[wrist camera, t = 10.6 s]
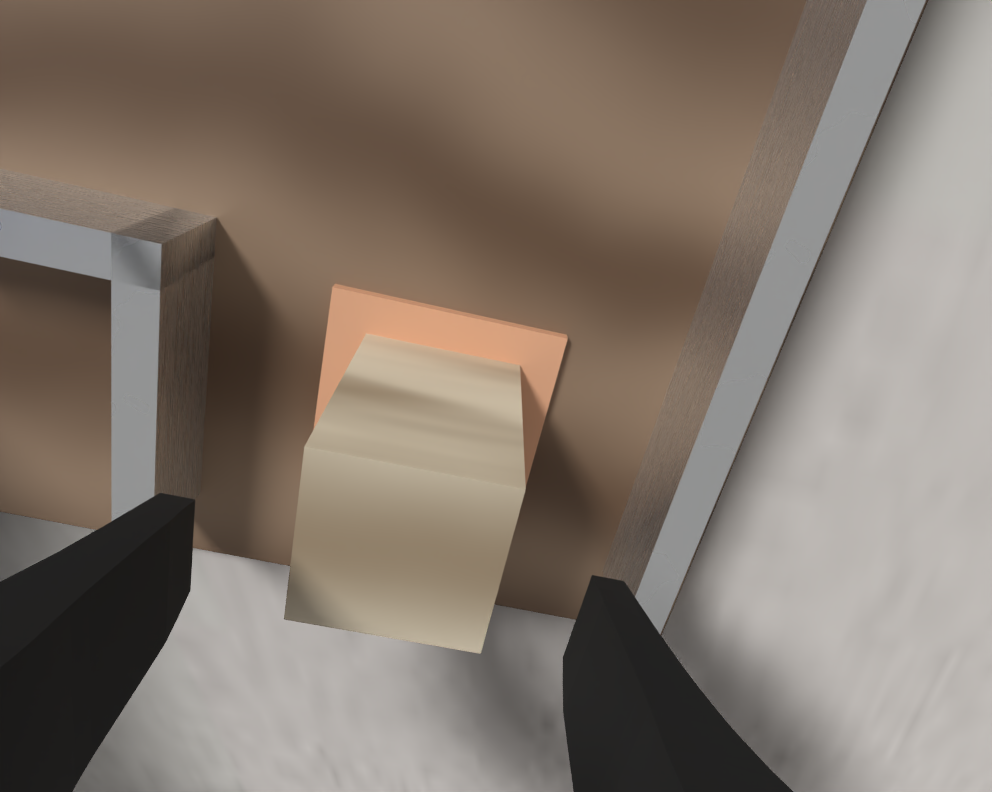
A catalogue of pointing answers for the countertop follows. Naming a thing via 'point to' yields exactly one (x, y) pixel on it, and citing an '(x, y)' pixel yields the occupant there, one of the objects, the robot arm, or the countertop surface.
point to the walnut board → (384, 224)
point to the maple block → (410, 496)
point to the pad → (443, 346)
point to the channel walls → (703, 359)
